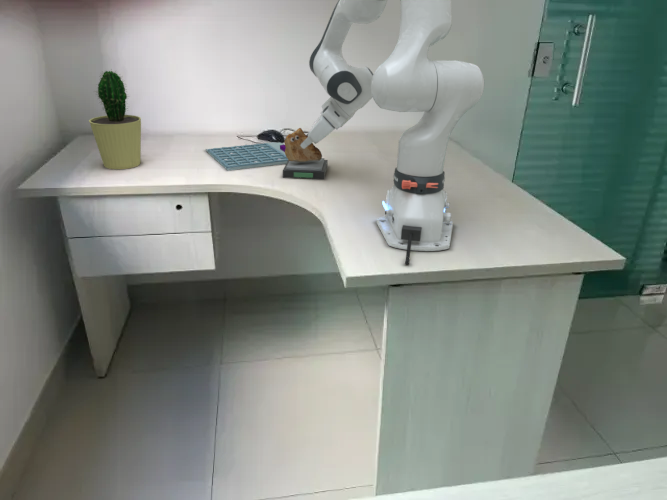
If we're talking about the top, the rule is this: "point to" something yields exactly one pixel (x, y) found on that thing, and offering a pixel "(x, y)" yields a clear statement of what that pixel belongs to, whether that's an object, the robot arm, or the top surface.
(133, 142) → the potted cactus
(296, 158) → the decorative rock
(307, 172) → the scale
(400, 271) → the top surface
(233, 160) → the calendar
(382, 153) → the top surface
